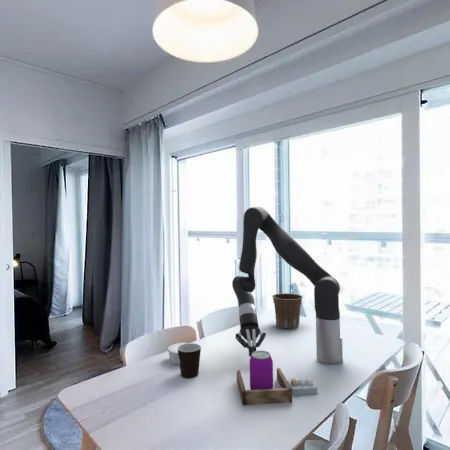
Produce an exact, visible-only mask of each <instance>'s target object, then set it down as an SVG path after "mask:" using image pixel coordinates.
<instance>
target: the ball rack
mask: <svg viewBox="0 0 450 450" xmlns="http://www.w3.org/2000/svg"><path fill="white" fill-rule="evenodd" d="M286 380H287V379H286ZM287 382H288V383H289V385H290V387H291V389H292V396H304V395H317V394H318V388H317V386H316V384H315V383H314V381H313V378H310V377H307V378H306V379H305V378H302V377H301V378H299V379H296V378H292V379H288V380H287Z"/></svg>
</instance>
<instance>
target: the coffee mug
mask: <svg viewBox="0 0 450 450" xmlns="http://www.w3.org/2000/svg"><path fill="white" fill-rule="evenodd" d="M186 343H187V344H182V345H180V346H179V347H178V356H179V364H180V365H179V371H180V376H181V377H182V378H183V379H189V380H190V379H194V378H196V377H198V375H199V371H200V362H201V361H200V359H201V350H202V346H201V345H200V344H198V343H193V342H191V343H189V342H186Z"/></svg>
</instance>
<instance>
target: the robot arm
mask: <svg viewBox="0 0 450 450" xmlns="http://www.w3.org/2000/svg"><path fill="white" fill-rule="evenodd" d="M242 225H243V231H242V248H241V255H240V260H239V266H238V268H239V271H240V272H241V273H243V274H247V276H240V275H237V276H235V277H234V278H233V279H232V282H231V284H232V290H233V292H234V294H235V296H236V299H237V303H238V319H239V327H240V329H239V332H238V333H235V336H234V339H235V340H236V341H237V342H238V343H239V344H240V345H241V346H242V347H243V348H244V349H245V348H246V349H247V350H248V356H249V357H250V358H251V355H252V353H253V352H255V351H257V348H259V347H260V346H261V344H263V341H264V340H265V339H266V336H267V333H266V332H265V331H264V332H263V331H261V328H260V327H259V320H258V319H259V318H258V313H257V309H256V305H255V299H254V295H253V294H252V293H253V292H254V291H255V289H256V278H255V268H256V263H257V257H258V251H257V235H258V232H259V230H260V232H262V233H263V234H265V236H267V237H268V238H269V240H270V242H271V245H272V246H273V249H274V250H275V252H276V254H278V255H279V256H280V258H282V260H284V261H285V263H287V264H288V265H289V266H290V267H292V268H293V269H294V270H296V271H297V272H299V273H301V274H302V275H303V276H305V277H306V278H307V279H308V281H310V282H311V284H312V285H313V286H314V289H313V290H314V291H313V296H314V311H315V337H316V338H315V341H316V344H315V346H316V348H315V350H316V351H315V352H316V354H315V355H316V360H317V361H318V362H320V363H321V364H324V365H338V364H340V363H343V362H344V361H343V360H344V359H343V337H341V319H340V318H341V313H340V307H339V306H340V303H339V300H340V299H339V294H340V291H341V285H340V283H339V281H338V280H337V279H336V278H335V277H334V276H332V275H331V274H330V273H328V272H327V270H325V269H323V267H321V265H319V264H318V263H317V262H316V261H315V260H314V259H313V258H312V256H311V255H310V254H309V253H308V251H307V250H305V249H304V248H303V246H301V245H300V243H298V241H296V239H294V238H293V237H292V236H291V235H290V234H289V233H288V232H287V231H286V230H284V228H282V227H281V226H280V225H279V224H278V223H277V221H276V220H275V219H274V218H273V217H272V215H271V214H270V213H269V212H268V211H267V210H266V209H265V208H263V207H262V206H254V207H248V208H247V209H246V210H245V211H244V213H243V224H242ZM258 337H259V339H258ZM257 339H258V341H257ZM256 341H257V342H256Z"/></svg>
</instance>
